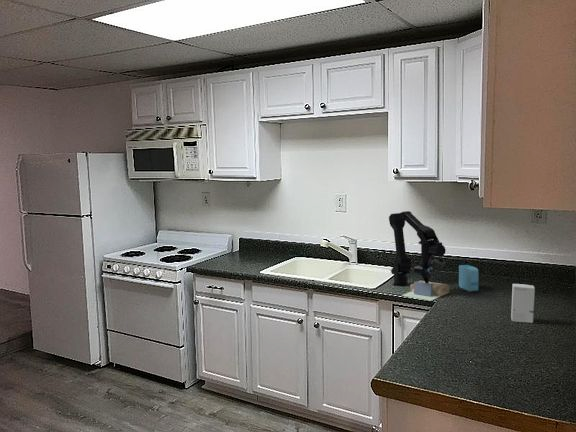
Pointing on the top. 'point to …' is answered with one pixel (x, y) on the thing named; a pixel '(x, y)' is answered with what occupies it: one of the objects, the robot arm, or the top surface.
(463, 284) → the data package
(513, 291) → the skincare box
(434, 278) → the top surface
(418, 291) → the block
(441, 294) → the beige shallow box
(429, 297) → the mat
